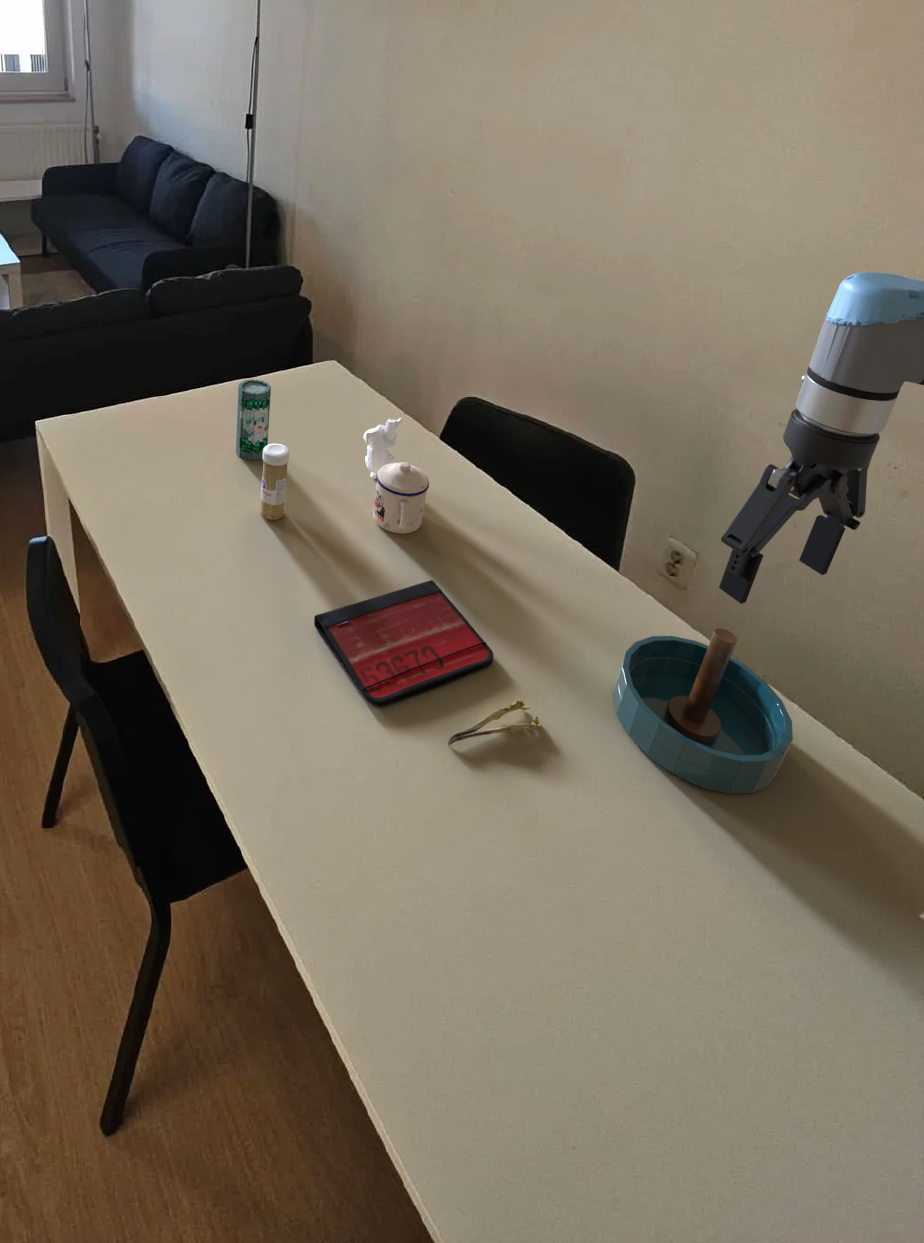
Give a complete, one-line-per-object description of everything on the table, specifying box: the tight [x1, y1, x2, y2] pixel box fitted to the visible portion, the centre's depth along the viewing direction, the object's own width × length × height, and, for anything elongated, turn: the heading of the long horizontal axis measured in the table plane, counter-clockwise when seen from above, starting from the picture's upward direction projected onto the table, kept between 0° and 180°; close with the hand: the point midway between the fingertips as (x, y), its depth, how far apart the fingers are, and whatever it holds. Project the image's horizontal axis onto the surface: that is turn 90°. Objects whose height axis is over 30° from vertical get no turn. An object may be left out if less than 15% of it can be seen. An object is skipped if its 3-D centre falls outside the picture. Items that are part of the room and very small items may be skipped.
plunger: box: [665, 627, 738, 744], centre depth 93 cm, size 6×6×15 cm
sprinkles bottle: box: [259, 443, 290, 521], centre depth 131 cm, size 5×5×13 cm
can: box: [235, 378, 272, 461], centre depth 149 cm, size 6×6×15 cm
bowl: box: [612, 635, 794, 794], centre depth 95 cm, size 19×19×6 cm
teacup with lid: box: [372, 461, 430, 535], centre depth 129 cm, size 12×9×12 cm
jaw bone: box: [447, 699, 542, 747], centre depth 94 cm, size 4×13×2 cm, turn 114°
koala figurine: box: [362, 417, 404, 480], centre depth 144 cm, size 8×7×12 cm
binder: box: [313, 579, 494, 707], centre depth 106 cm, size 16×2×21 cm
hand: (773, 581), depth 86 cm, fingers open, 13 cm apart
